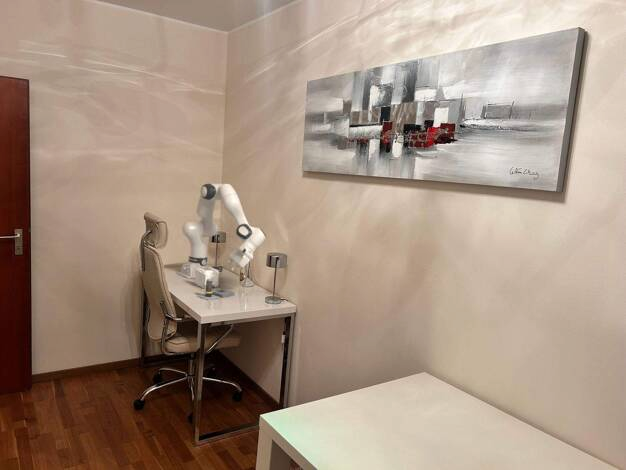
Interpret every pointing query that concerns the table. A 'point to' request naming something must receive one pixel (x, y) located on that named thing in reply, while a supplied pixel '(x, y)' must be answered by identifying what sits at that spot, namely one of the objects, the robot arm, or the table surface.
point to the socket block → (222, 293)
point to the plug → (208, 288)
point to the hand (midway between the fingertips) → (229, 267)
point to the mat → (208, 297)
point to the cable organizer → (206, 276)
